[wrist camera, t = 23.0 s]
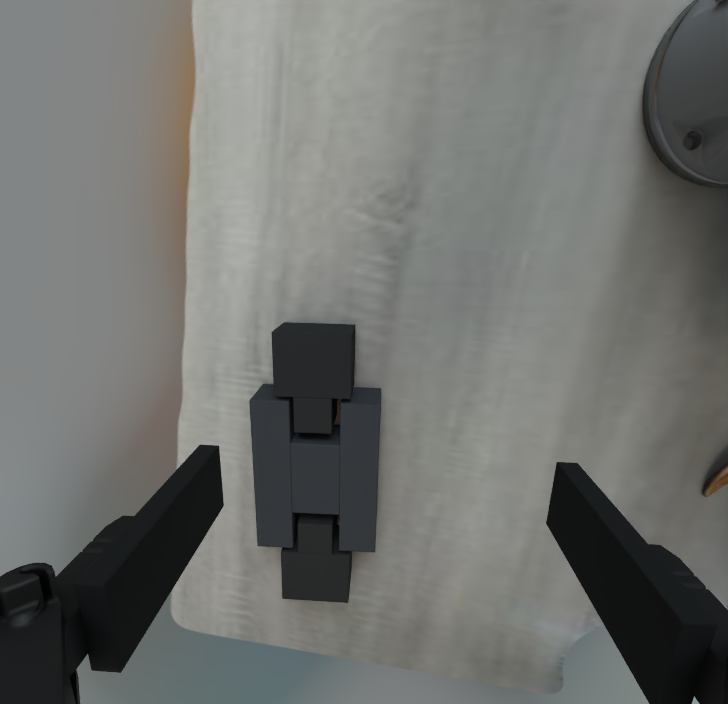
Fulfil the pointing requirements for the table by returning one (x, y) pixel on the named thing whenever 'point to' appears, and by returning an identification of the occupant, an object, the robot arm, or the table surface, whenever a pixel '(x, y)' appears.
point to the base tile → (316, 469)
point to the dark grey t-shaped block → (314, 371)
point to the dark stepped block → (316, 562)
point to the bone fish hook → (716, 481)
